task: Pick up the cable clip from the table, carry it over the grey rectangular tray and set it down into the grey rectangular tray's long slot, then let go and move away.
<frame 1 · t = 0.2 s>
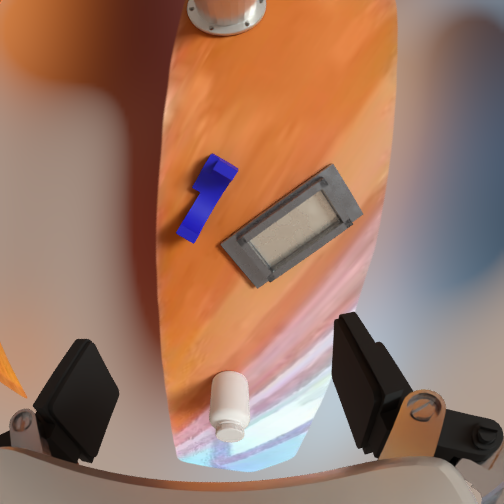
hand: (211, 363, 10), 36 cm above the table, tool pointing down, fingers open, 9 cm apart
cable clip: (205, 193, 44), on the table
pill bottle: (230, 381, 58), on the table
grey rectangular tray: (293, 226, 46), on the table
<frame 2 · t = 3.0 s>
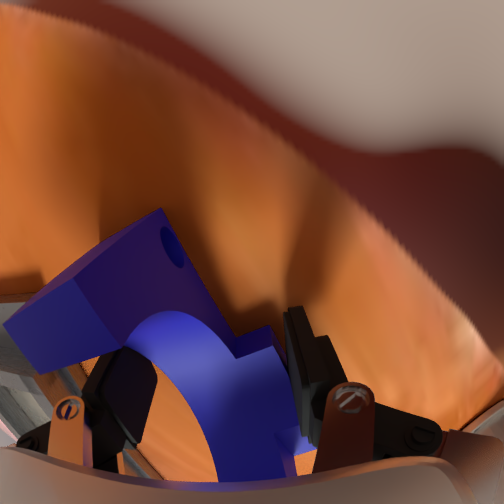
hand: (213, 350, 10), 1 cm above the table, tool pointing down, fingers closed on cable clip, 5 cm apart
cable clip: (220, 339, 12), on the table, touching gripper
grey rectangular tray: (71, 426, 14), on the table
when the fingers open (4 cm above the table, at t = 8.5 s): cable clip stays where it is, resting on grey rectangular tray.
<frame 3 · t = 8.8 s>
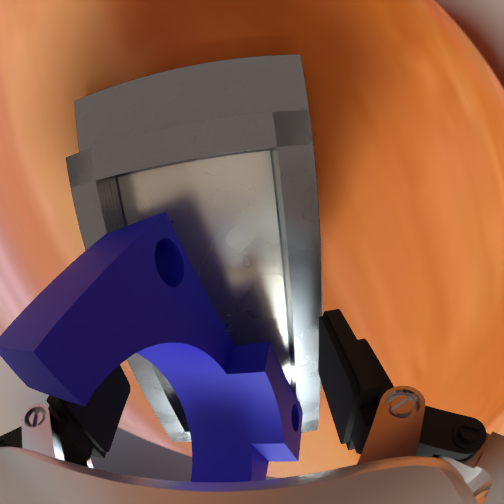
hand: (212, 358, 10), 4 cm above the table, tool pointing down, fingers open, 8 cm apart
cable clip: (219, 343, 11), point 3 cm above the table, touching grey rectangular tray
grey rectangular tray: (218, 301, 14), on the table
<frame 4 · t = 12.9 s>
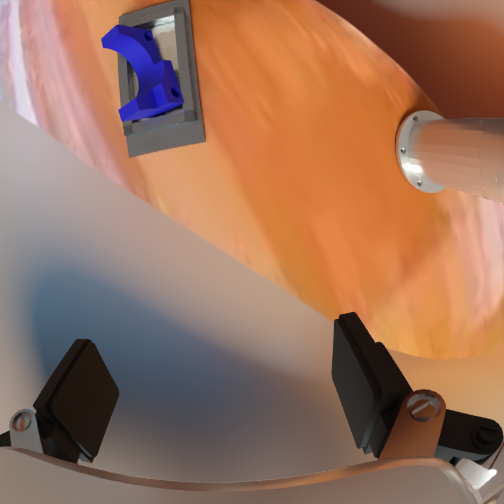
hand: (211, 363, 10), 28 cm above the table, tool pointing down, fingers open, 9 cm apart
cable clip: (158, 69, 28), point 2 cm above the table, touching grey rectangular tray
grey rectangular tray: (158, 71, 29), on the table
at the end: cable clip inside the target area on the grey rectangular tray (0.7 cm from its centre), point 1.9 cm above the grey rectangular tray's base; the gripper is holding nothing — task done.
